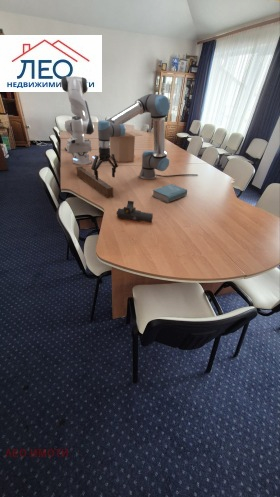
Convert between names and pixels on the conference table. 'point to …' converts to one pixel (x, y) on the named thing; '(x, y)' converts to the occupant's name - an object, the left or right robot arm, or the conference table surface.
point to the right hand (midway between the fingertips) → (105, 178)
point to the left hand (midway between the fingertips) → (80, 157)
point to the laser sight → (133, 213)
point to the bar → (95, 182)
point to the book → (169, 193)
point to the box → (123, 146)
